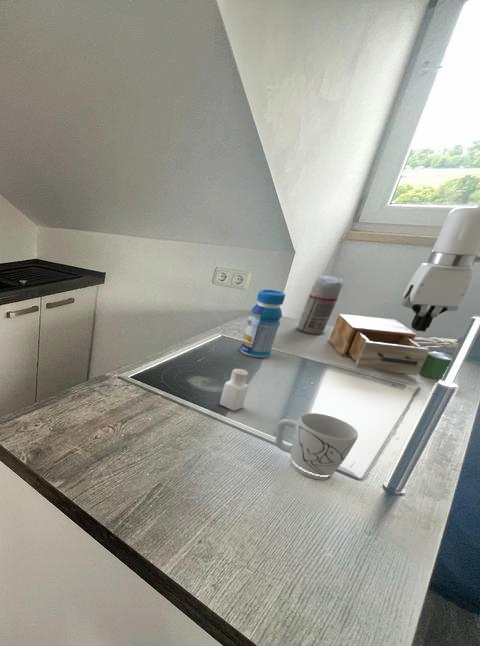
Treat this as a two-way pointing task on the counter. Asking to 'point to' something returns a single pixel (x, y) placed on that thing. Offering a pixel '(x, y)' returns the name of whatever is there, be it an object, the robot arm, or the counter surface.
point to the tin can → (435, 364)
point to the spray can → (320, 304)
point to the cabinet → (363, 329)
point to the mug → (317, 443)
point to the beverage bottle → (263, 324)
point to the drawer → (386, 352)
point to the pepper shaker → (235, 390)
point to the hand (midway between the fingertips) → (418, 329)
